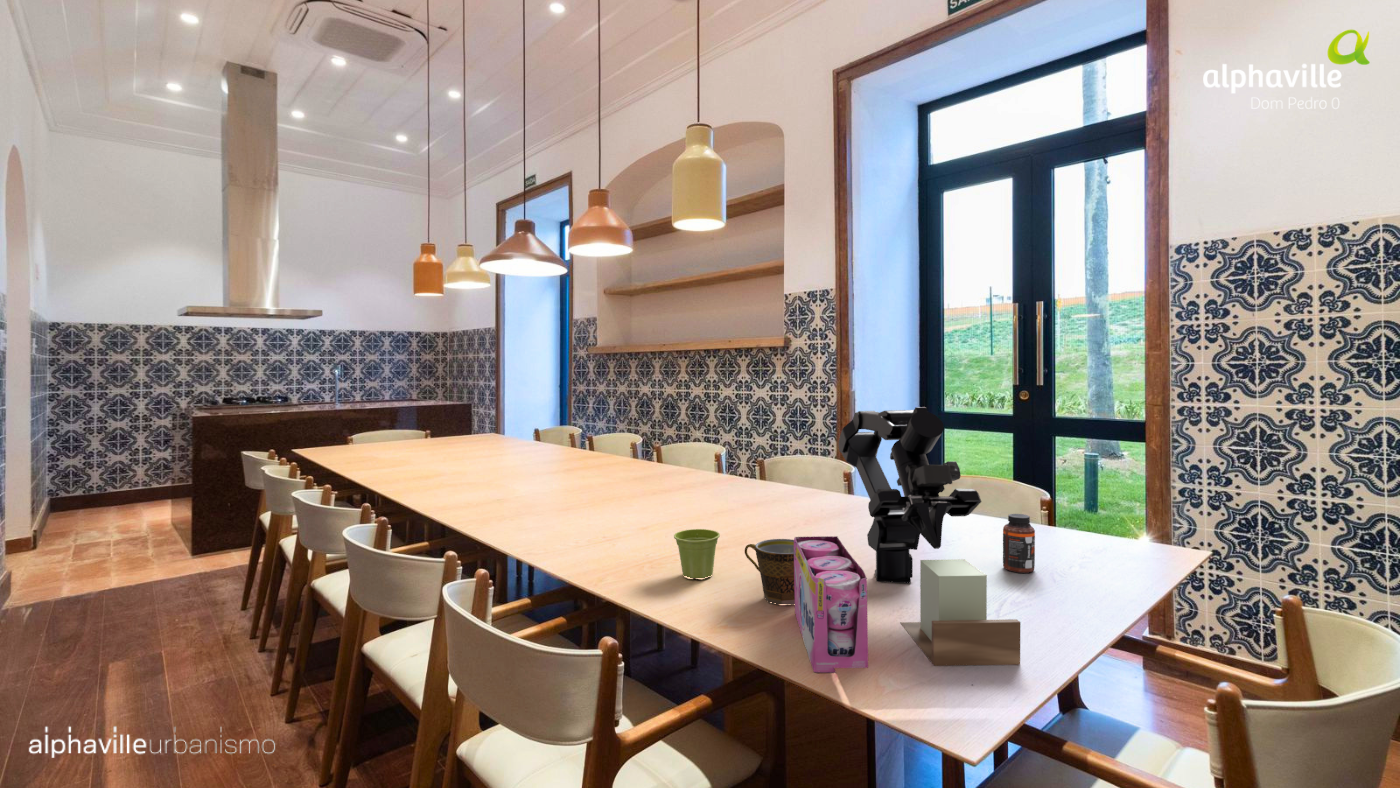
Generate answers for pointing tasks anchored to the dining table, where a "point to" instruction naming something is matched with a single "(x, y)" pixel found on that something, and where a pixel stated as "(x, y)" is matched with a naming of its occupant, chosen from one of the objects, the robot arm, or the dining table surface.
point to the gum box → (830, 604)
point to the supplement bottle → (1019, 544)
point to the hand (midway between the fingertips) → (937, 547)
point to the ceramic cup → (776, 569)
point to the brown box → (969, 642)
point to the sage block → (951, 592)
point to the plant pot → (697, 551)
